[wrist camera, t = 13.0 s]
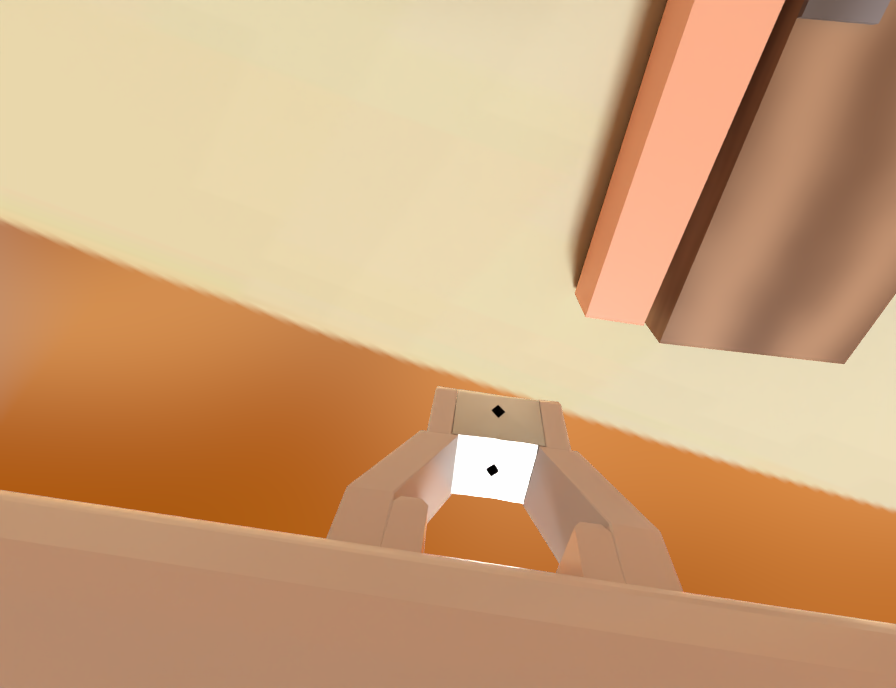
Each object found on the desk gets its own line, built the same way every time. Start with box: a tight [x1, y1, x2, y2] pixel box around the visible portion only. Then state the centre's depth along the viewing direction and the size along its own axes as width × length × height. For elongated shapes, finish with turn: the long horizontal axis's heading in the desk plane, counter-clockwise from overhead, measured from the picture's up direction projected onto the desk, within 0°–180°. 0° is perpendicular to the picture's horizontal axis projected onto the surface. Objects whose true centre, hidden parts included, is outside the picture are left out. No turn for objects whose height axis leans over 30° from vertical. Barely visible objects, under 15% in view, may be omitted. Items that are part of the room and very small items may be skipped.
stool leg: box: [575, 0, 785, 325], centre depth 21 cm, size 18×4×4 cm, turn 173°
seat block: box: [645, 0, 896, 364], centre depth 21 cm, size 11×20×4 cm, turn 175°
